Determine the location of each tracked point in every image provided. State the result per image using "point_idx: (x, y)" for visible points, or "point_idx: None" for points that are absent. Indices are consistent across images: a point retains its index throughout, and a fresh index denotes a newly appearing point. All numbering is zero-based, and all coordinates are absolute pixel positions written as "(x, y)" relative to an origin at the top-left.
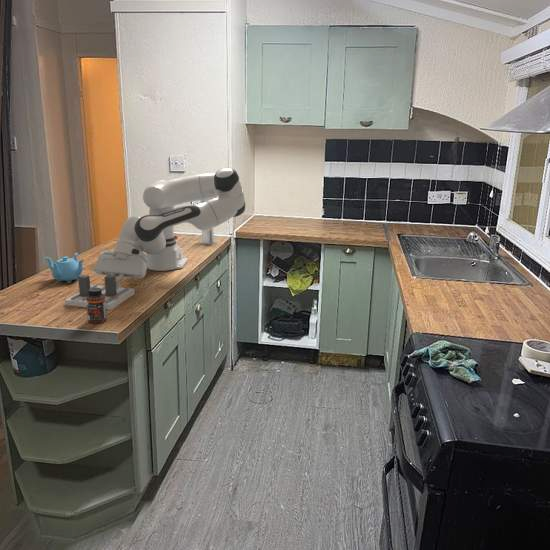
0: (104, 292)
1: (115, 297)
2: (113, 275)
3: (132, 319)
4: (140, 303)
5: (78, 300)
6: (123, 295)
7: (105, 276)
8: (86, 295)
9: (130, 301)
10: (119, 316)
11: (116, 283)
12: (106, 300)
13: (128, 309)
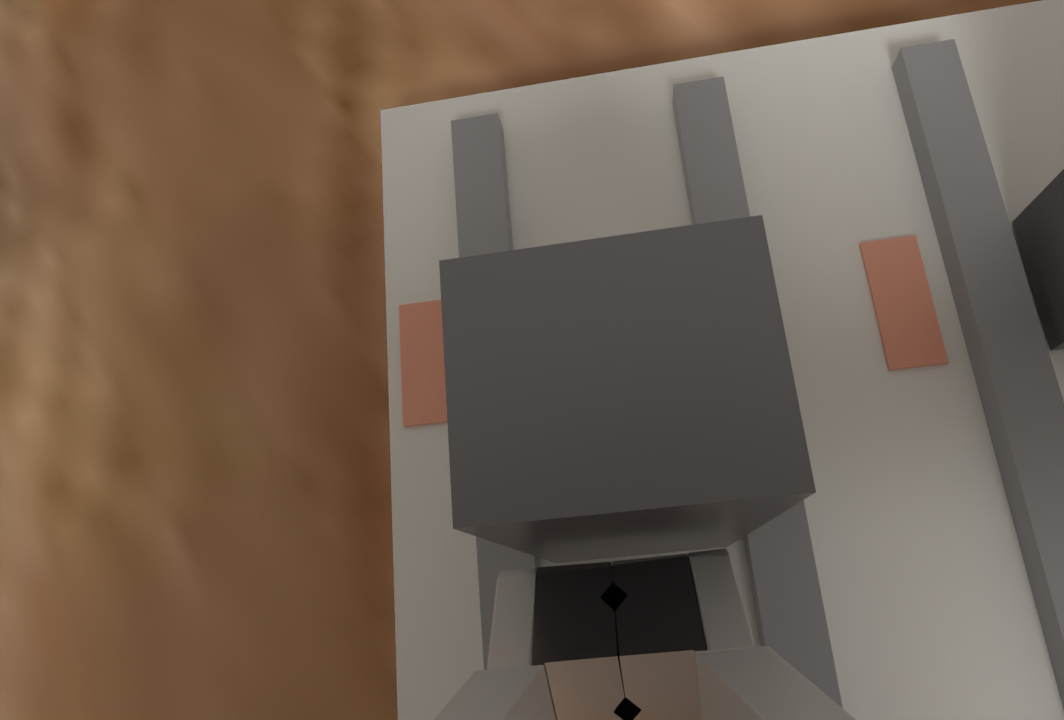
0: (906, 599)
1: None
2: (530, 512)
3: (7, 43)
4: (112, 556)
5: (1014, 42)
6: (404, 575)
7: (748, 265)
8: (1039, 203)
9: (306, 581)
10: (186, 47)
11: (518, 585)
12: (493, 159)
13: (182, 274)
